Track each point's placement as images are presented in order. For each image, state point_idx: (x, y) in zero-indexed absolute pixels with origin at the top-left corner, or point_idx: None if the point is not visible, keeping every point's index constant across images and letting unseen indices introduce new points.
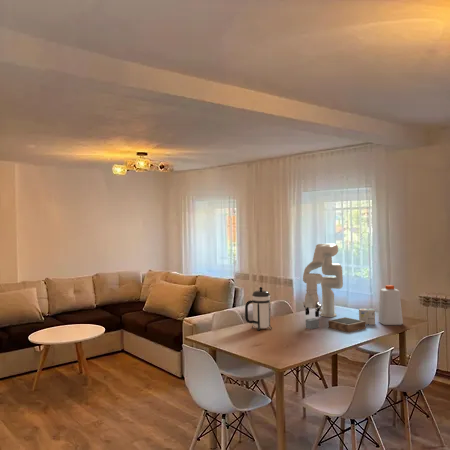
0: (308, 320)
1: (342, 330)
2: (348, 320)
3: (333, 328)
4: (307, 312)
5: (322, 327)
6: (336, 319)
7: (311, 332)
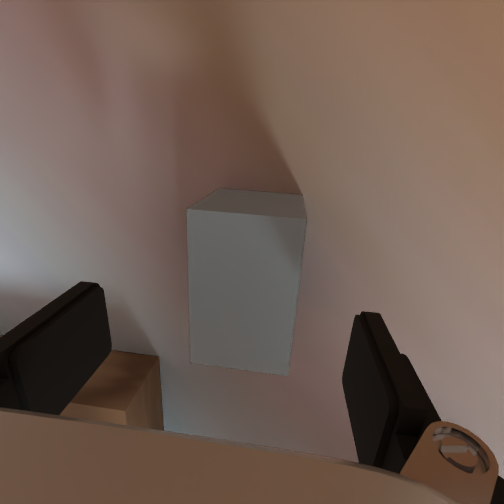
0: (241, 213)
1: None
2: None
3: None
4: (358, 374)
5: None
6: None
7: (93, 57)
